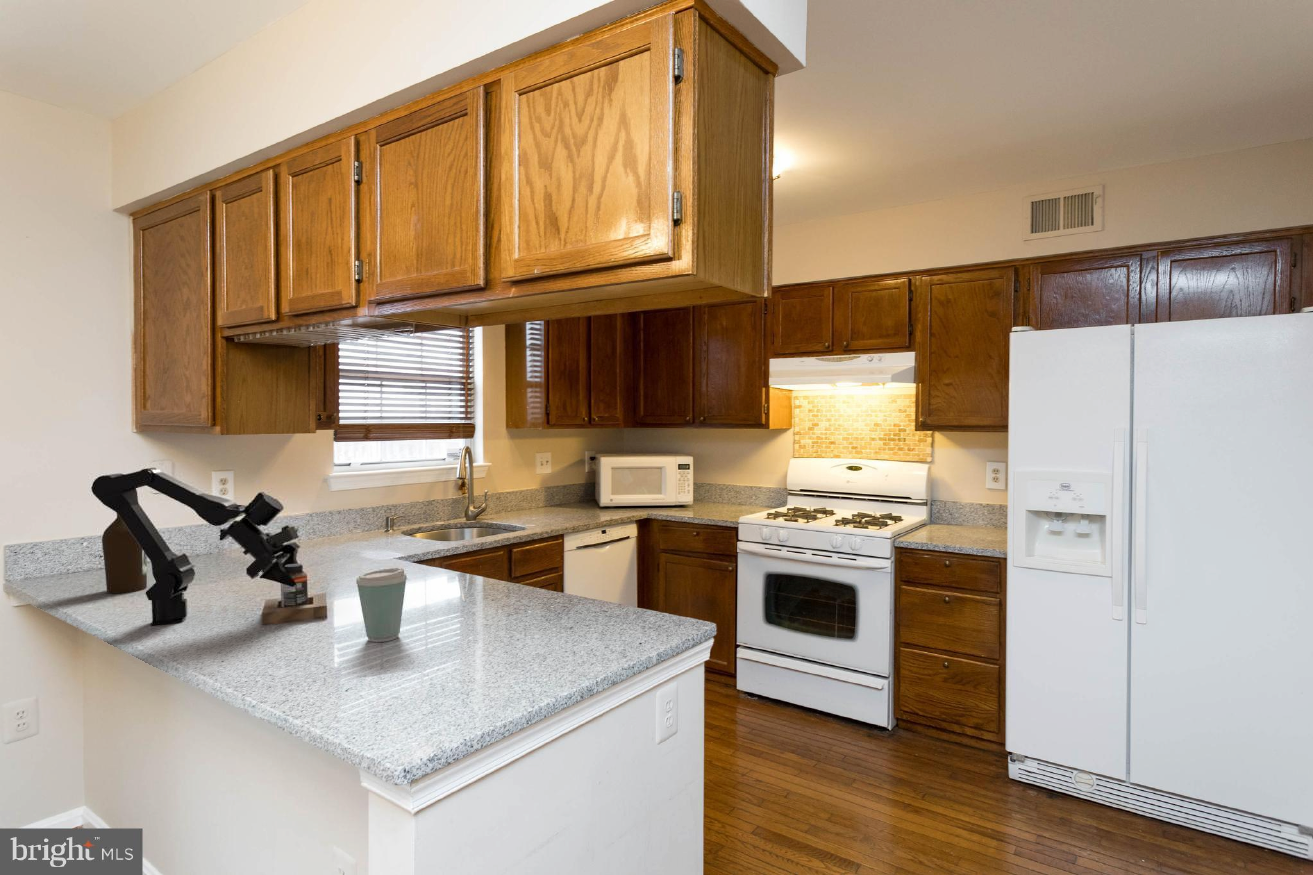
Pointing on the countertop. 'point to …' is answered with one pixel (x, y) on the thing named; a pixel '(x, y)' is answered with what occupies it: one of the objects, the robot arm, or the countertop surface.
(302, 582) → the supplement bottle
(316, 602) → the bottle holder
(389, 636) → the disposable coffee cup
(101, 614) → the countertop surface
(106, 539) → the olive oil
